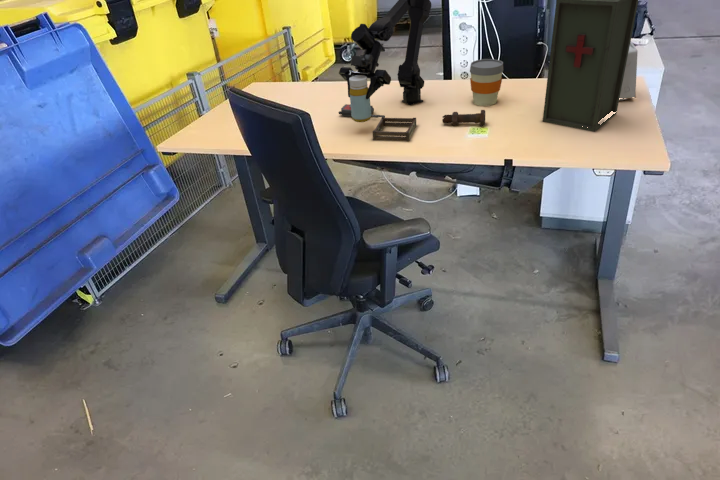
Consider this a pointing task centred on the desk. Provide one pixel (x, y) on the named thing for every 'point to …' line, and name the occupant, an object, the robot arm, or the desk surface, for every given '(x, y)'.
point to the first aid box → (587, 61)
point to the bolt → (465, 118)
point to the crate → (380, 134)
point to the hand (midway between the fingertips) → (357, 97)
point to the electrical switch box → (630, 74)
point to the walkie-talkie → (347, 112)
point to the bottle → (359, 99)
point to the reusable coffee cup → (486, 81)
